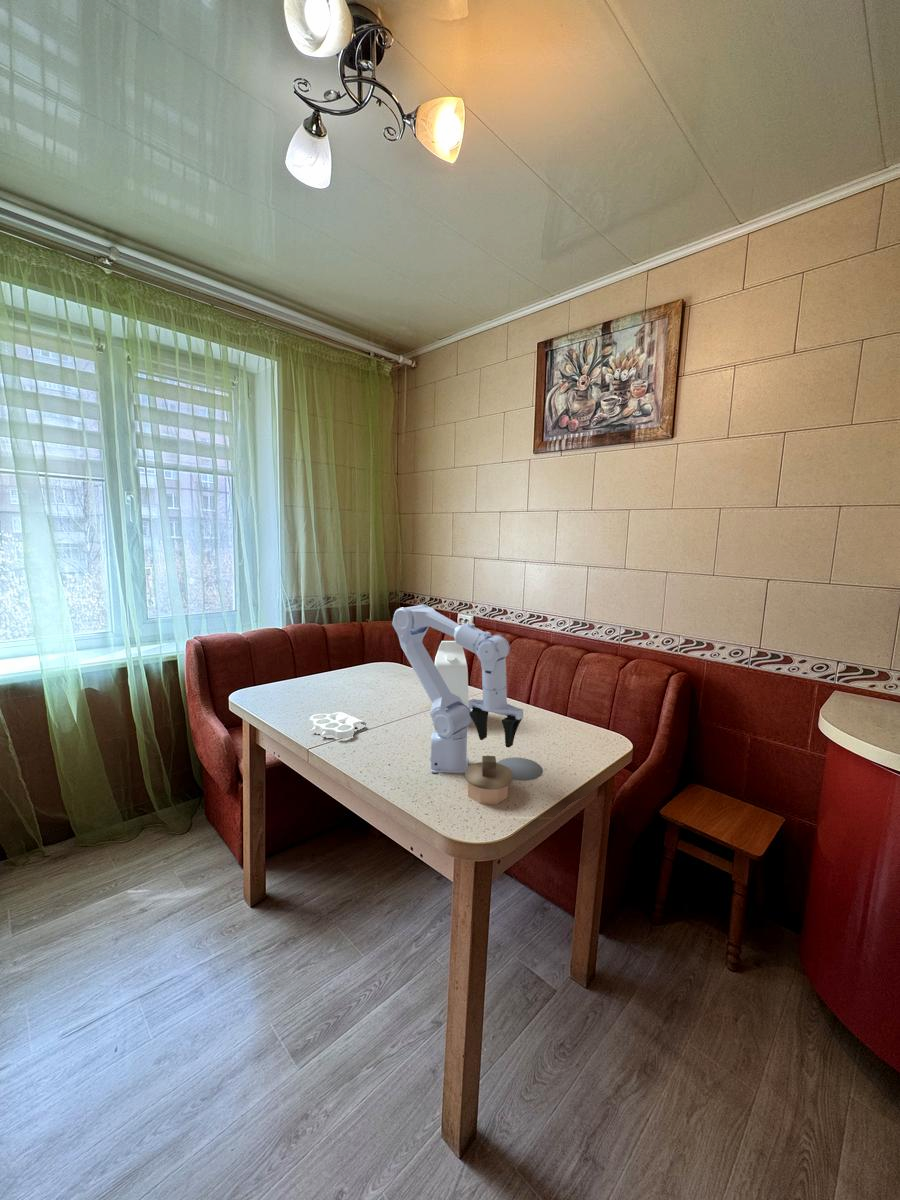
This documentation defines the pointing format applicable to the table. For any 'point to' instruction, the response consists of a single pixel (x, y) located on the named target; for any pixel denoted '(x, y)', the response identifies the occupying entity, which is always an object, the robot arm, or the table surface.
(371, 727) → the table surface
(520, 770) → the mat
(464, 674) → the milk
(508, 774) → the lid
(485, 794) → the bowl
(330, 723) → the white holed plate
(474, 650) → the robot arm
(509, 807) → the table surface
